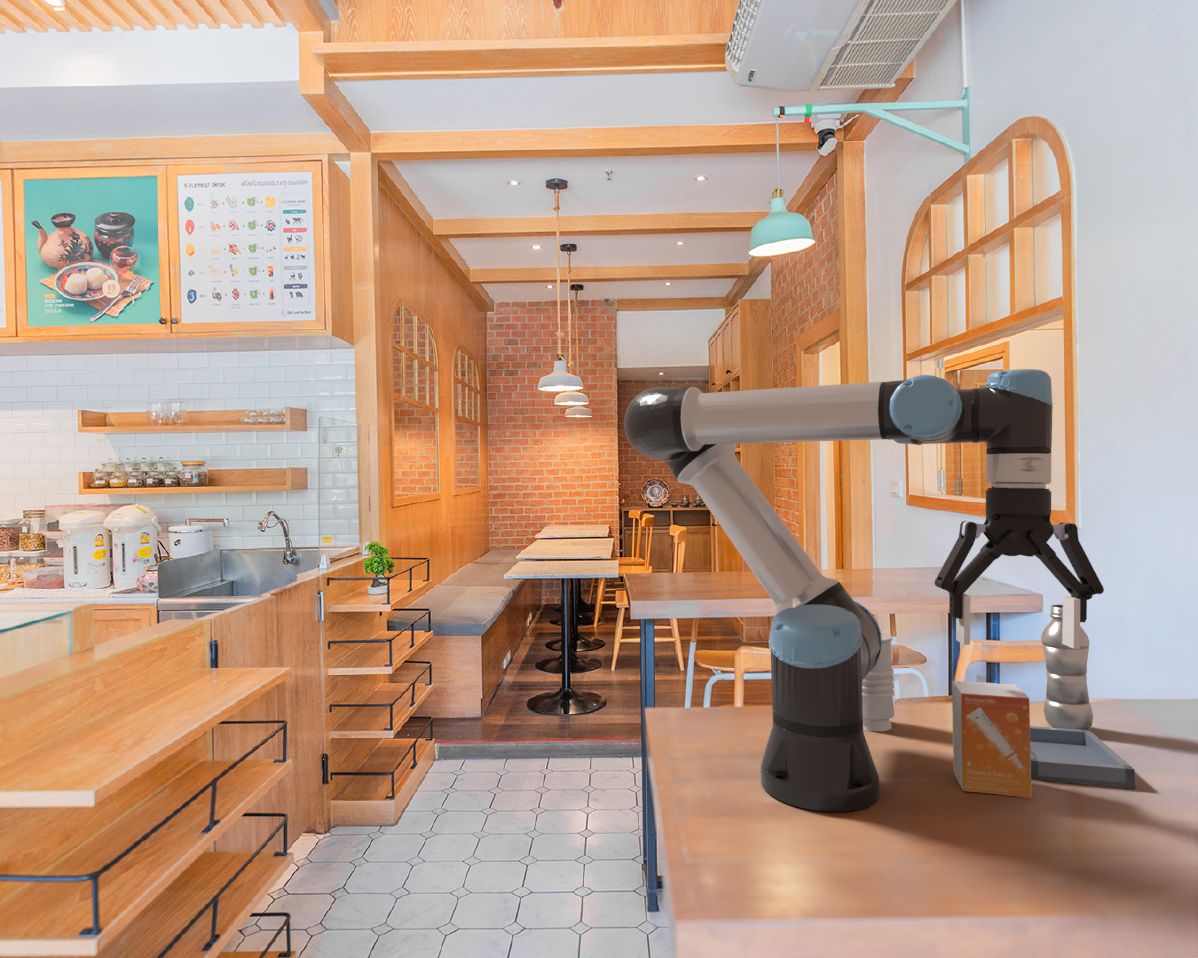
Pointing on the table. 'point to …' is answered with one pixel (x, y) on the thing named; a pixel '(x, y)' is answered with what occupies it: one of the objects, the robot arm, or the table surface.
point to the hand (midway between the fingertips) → (1016, 644)
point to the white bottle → (879, 691)
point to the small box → (991, 738)
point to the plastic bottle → (1065, 677)
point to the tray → (1076, 758)
